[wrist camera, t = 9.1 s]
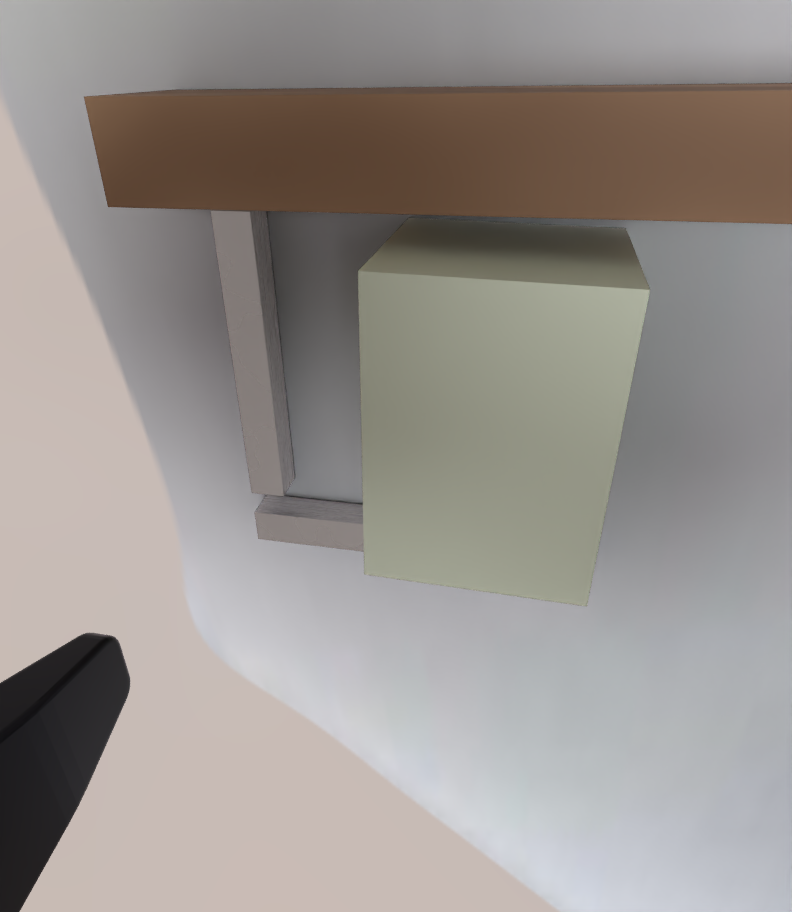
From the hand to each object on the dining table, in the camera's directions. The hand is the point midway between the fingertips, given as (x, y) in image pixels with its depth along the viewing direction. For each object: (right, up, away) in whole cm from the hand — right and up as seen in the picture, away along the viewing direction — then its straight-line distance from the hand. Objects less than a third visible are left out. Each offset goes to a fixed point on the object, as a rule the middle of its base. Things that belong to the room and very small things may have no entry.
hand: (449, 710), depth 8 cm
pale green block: (+2, +6, +9) cm, 11 cm away
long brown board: (+6, +10, +6) cm, 13 cm away
